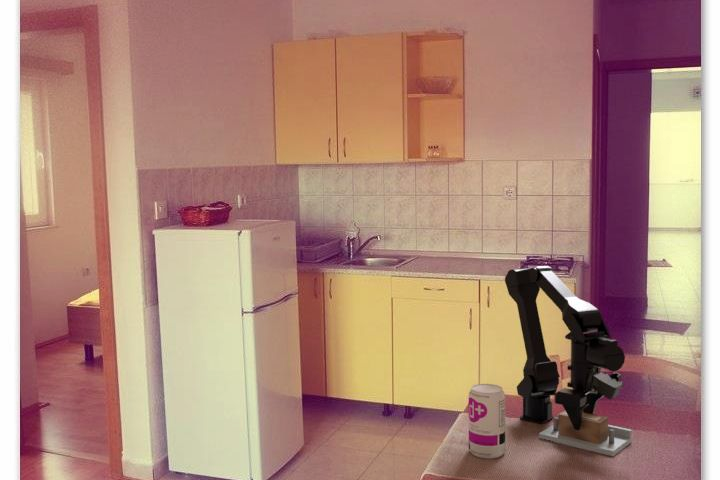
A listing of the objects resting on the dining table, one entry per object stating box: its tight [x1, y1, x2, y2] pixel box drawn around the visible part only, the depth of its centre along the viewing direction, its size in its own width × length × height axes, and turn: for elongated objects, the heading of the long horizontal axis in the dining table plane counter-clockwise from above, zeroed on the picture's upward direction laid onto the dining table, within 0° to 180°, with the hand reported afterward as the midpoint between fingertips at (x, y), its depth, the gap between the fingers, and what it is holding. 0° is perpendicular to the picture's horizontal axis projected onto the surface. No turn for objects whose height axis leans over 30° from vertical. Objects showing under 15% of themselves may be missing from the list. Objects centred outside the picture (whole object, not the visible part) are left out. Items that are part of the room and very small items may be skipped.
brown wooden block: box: [557, 410, 609, 444], centre depth 166 cm, size 10×5×5 cm, turn 49°
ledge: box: [538, 414, 633, 457], centre depth 167 cm, size 18×11×4 cm, turn 49°
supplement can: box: [468, 383, 506, 460], centre depth 160 cm, size 8×8×15 cm
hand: (582, 426), depth 166 cm, fingers open, 6 cm apart
